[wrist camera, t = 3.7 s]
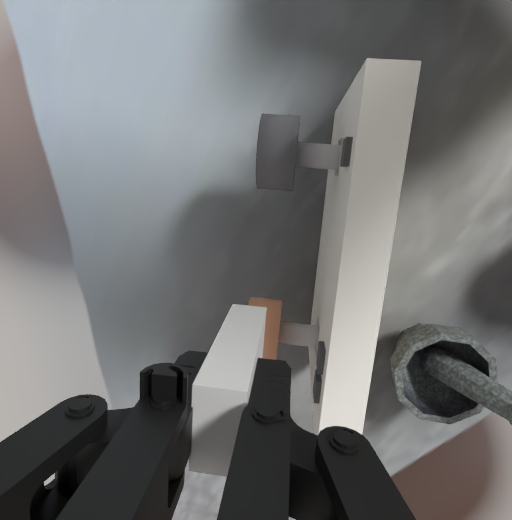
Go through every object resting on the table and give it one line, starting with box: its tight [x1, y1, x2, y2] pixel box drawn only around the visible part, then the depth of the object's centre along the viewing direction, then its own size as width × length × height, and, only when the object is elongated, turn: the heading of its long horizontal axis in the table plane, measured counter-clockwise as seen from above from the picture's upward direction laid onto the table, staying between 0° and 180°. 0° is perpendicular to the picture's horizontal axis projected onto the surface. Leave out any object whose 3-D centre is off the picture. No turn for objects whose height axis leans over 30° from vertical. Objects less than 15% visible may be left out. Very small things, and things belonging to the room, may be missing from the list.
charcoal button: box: [256, 114, 342, 191], centre depth 31 cm, size 10×6×6 cm, turn 86°
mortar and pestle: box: [390, 323, 512, 425], centre depth 37 cm, size 11×9×12 cm
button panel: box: [308, 58, 421, 435], centre depth 32 cm, size 7×26×18 cm, turn 176°
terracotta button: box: [248, 297, 320, 360], centre depth 35 cm, size 10×6×6 cm, turn 86°
